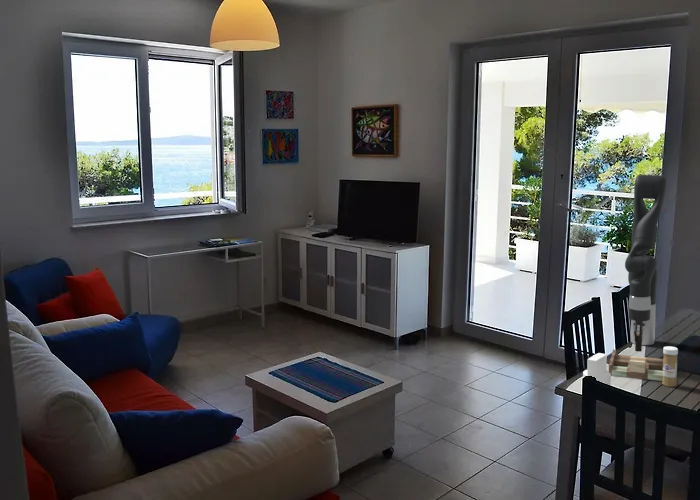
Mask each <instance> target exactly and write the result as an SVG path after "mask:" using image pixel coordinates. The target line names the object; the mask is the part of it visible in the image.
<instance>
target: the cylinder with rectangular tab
mask: <svg viewBox="0 0 700 500" xmlns="http://www.w3.org/2000/svg"><path fill="white" fill-rule="evenodd" d="M607 357H608V355H607V353H601V352H598V353H596V354H594V355H592V356H590V357H589V358H587V361H586V362H587V363H586V364H587V368H586V369H584V371H583V372H582V378H583V377H585V376H592V377H595V378H596V379H597V380H598V381H601V382H604V383H606V384H608V385H612V383H611V382H612V381H611V380H612V379H611V378H612V375H611V374H610V373H609V370H608V371H607V362H608V360H607Z"/></svg>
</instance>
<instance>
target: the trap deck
mask: <svg viewBox="0 0 700 500" xmlns="http://www.w3.org/2000/svg"><path fill="white" fill-rule="evenodd" d="M631 356H632V355H625V354H617V349H613V350H612V352H611V356H610V359H609V363H608V372H609V373H610V374H611V376H615V377H623V378H634V379H644V380H650V381H659V382H663V359H664V358H655V357H648V356H647V357H646V356H645V357H646V363H645V373H638V372H630V358H631ZM636 357H638V356H636Z"/></svg>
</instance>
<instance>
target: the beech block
mask: <svg viewBox="0 0 700 500" xmlns="http://www.w3.org/2000/svg"><path fill="white" fill-rule="evenodd" d="M630 356H631V358H630V372H638V373H645V363H646V356H637V357H636V356H634V355H630Z"/></svg>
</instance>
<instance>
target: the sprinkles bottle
mask: <svg viewBox="0 0 700 500" xmlns="http://www.w3.org/2000/svg"><path fill="white" fill-rule="evenodd" d="M662 352H663V358H662V359H663V381H661V383H662V385H663V386H665V387H676V386H677V378H678V377H677V375H678V374H677V373H678V354H679V349H678V348H677V347H676V346H671V345H670V346H663V350H662Z"/></svg>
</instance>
